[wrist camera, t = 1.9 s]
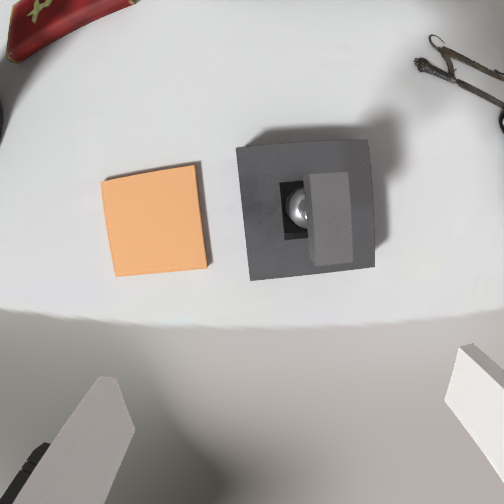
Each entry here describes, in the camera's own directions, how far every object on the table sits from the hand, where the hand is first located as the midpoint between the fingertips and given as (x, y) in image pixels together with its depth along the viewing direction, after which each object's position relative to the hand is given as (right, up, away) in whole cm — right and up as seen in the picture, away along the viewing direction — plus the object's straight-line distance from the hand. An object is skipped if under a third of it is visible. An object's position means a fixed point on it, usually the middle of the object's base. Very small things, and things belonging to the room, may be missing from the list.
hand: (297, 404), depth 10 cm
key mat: (-13, +9, +26) cm, 31 cm away
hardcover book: (-29, +43, +19) cm, 55 cm away
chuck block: (+4, +11, +26) cm, 28 cm away
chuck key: (+4, +11, +26) cm, 28 cm away
